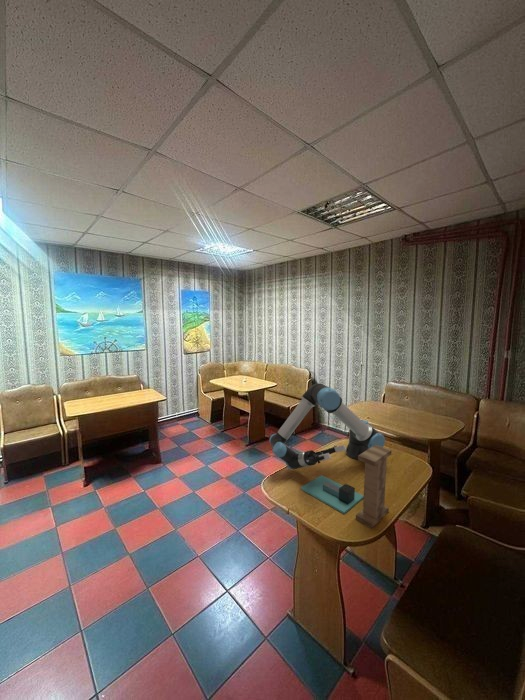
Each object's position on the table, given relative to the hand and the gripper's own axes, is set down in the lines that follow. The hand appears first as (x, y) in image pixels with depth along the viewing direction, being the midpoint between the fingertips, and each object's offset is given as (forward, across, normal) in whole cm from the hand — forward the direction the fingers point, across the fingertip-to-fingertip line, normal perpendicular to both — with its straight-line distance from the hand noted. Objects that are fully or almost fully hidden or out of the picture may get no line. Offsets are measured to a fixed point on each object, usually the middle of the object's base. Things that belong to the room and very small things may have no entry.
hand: (337, 451), depth 142 cm
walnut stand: (+5, 0, -30) cm, 30 cm away
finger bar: (-11, 0, -20) cm, 23 cm away
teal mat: (-14, 0, -19) cm, 24 cm away
